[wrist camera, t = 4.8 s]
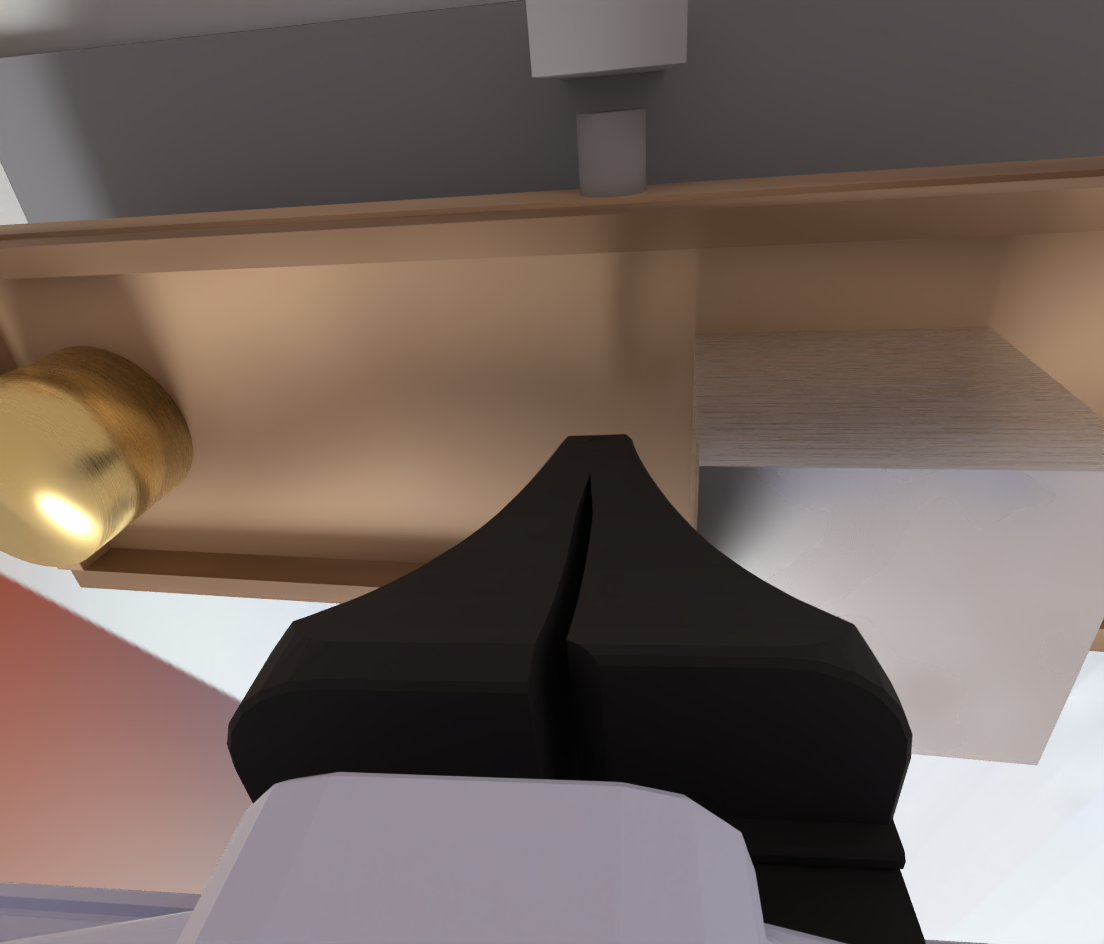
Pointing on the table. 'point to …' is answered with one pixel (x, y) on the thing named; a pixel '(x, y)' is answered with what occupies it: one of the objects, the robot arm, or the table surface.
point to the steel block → (915, 513)
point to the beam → (510, 336)
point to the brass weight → (83, 453)
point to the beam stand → (546, 100)
